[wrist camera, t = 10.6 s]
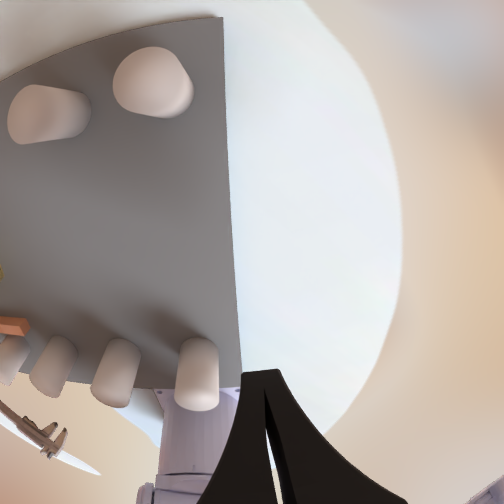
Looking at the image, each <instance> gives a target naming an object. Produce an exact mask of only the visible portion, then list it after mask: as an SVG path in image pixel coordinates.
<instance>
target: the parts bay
mask: <svg viewBox="0 0 504 504" xmlns="http://www.w3.org/2000/svg"><path fill="white" fill-rule="evenodd" d="M30 328H31V327H30V325H29V323H28V321H27V319H26V318H16V317H5V316H0V333H5V334H12V335H19V336H25V335H26V334H27V332H28V331H29V329H30Z"/></svg>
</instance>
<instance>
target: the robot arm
mask: <svg viewBox="0 0 504 504" xmlns="http://www.w3.org/2000/svg"><path fill="white" fill-rule="evenodd" d="M154 392H155V394H156V396H157V398H158V401H159V403H160V405H161V407H162V409H163V411H164V421H163V429H162V437H161V446H160V456H159V467H158V474H157V475H156V482H155V488H154V487H153V483H145V485H143V486H141V487H140V488H139V490H138V494H137V500H136V504H278V502H277V498H276V492H275V488H274V482H273V477H272V471H271V465H270V460H269V454H268V448H267V440H266V431H267V435H268V438H269V442H270V446H271V450H272V454H273V457H274V461H275V465H276V468H277V472H278V477H279V482H280V488H281V493H282V500H283V504H408V503H407V502H406V500H405V499H403V498H401V497H399V496H397V495H396V494H394V493H392V492H390V491H388V490H387V489H385V488H384V487H382V486H380V485H379V484H377V483H376V482H374V481H373V480H371V479H370V478H369V477H367V476H366V475H364V474H363V473H362V472H361V471H360V470H358V469H357V468H356V467H354V466H353V465H352V464H351V463H349V462H348V461H347V460H346V459H345V458H344V457H343V456H342V455H341V454H340V453H339V452H338V451H337V450H336V449H334V447H333V446H332V445H331V444H330V443H329V442H328V441H327V440H326V439H325V438H324V437H323V436H322V434H321V433H320V432H319V431H318V430H317V429H316V427H315V426H314V425H313V424H312V422H311V421H310V420H309V418H308V417H307V416H306V414H305V413H304V411H303V410H302V409H301V407H300V406H299V404H298V403H297V401H296V400H295V398H294V397H293V395H292V393H291V391H290V390H289V388H288V386H287V384H286V382H285V381H284V378H283V376H282V374H281V372H280V370H279V369H270V370H261V371H252V372H243V373H242V374H241V385H240V387H231V388H219V403H218V405H217V406H216V407H215V408H213V409H211V410H207V411H191V410H188V409H185V408H183V407H181V406H180V405H178V404H177V403H176V401H175V399H174V393H175V389H154ZM465 504H504V475H502V476H501V477H500V478H498V479H497V480H496V481H494V482H492V483H491V484H490V485H488V486H487V487H485V488H484V489H483V490H481V491H480V492H479V493H477V494H476V495H475V496H473V497H472V498H471V499H470V500H469V501H468V502H467V503H465Z"/></svg>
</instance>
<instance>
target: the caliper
mask: <svg viewBox="0 0 504 504" xmlns="http://www.w3.org/2000/svg"><path fill="white" fill-rule="evenodd" d="M0 412H1V413H2V414H3V415H4V416H6V417H7V418H8V419H9V420H10V421H12V422H13V423H14V424H15V425H16V426H17V429H18V430H19V431H20V432H21V433H23V434H24V435H25V436H26V437H28V438H29V439H30V440H32V441H33V442H34V443H36V444H37V445H38V446H40V447H41V448H43V446H44V448H43V449H42V450H41V451H40V453H41V455H45V454H47V458H48V459H49V460H50V458H51V457H52V455H54V456H55V457H57V456H58V454H59V453H60V452H61V450H62V449H63V447H64V444H65V441H66V438H67V434H68V433H67V430H66V428H64V429H63V431H62V432H61V433H60V435H59V436H58V437H57V438H56V440H55V441H54V442H53V441H51V440H50V439H49V438H50V437H51V436H52V434H53V433H54V432H55V430H56V428H57V427H58V424H57V422H53V423H52V424H50V425H49V426H47V427H46V428H44V429H43V430H40V429H38V427H37V426H36V424H35V423H34V422H33V421H31V420H29V419H28V418H27V416H24V417H23V418H21V417H20V416H18V415H17V414H16V413H15V412H13V411H12V410H11V409H10V408H8V407H7V406H6V405H5V404H4V403H3V402H1V400H0Z"/></svg>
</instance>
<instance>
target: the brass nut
mask: <svg viewBox="0 0 504 504" xmlns="http://www.w3.org/2000/svg"><path fill="white" fill-rule="evenodd" d="M3 277H4V273H3V270H2V267H1V264H0V282H1V280H2V279H3Z"/></svg>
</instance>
